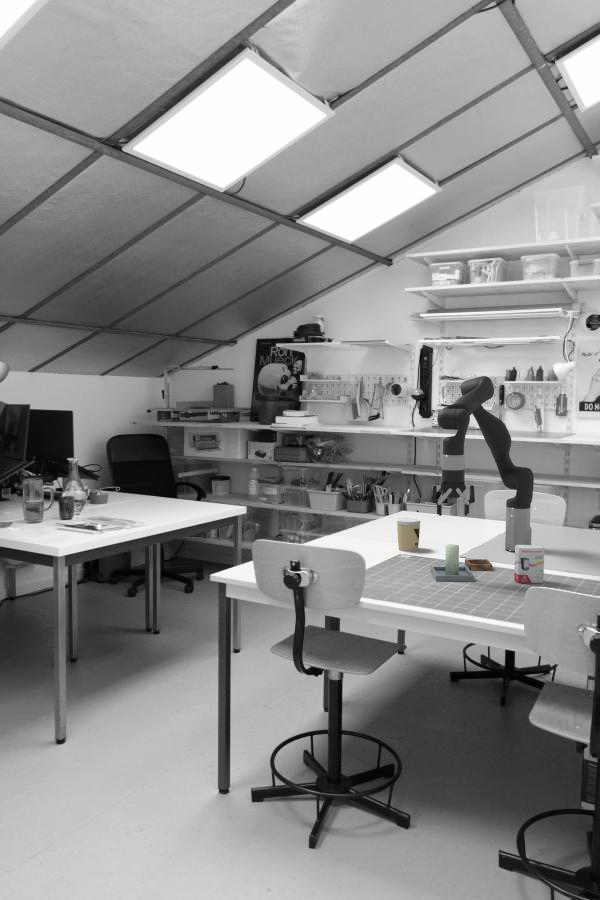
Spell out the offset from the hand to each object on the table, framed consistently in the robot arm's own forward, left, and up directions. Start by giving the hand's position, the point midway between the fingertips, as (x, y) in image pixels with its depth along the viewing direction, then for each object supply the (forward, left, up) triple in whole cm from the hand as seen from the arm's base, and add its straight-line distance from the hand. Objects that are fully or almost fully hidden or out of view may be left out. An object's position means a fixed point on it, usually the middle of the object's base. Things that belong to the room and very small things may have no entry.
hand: (452, 515), depth 240 cm
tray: (0, 0, -21) cm, 21 cm away
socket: (-11, -13, -21) cm, 27 cm away
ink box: (-24, +5, -21) cm, 33 cm away
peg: (0, 0, -21) cm, 21 cm away
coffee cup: (+11, -41, -21) cm, 47 cm away
